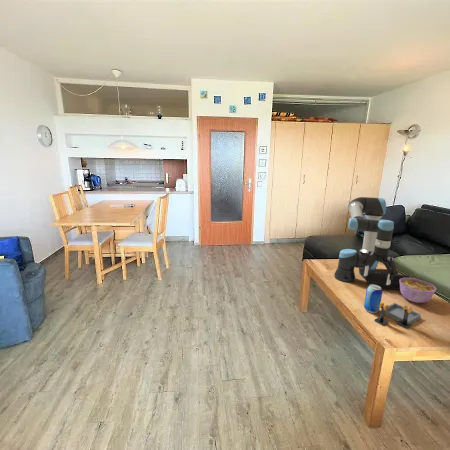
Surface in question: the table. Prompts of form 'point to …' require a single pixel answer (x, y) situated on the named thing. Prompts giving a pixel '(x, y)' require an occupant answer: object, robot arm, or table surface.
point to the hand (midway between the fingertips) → (376, 279)
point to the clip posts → (403, 324)
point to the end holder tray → (401, 313)
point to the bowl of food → (416, 290)
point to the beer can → (373, 298)
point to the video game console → (382, 278)
